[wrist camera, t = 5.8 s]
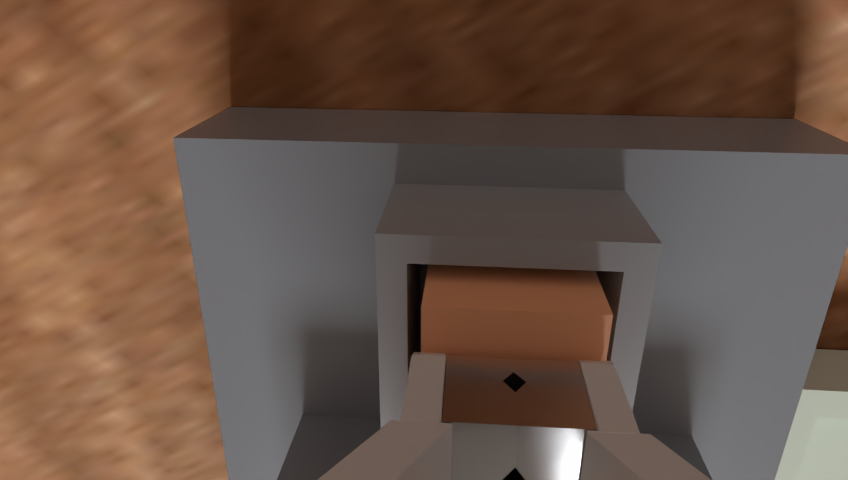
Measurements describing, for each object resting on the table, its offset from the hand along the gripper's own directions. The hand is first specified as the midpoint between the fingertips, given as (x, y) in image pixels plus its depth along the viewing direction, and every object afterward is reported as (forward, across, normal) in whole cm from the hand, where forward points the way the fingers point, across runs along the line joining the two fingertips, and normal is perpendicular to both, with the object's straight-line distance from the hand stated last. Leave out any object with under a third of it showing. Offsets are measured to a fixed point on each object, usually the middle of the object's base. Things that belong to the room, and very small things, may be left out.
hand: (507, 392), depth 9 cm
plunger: (+3, 0, 0) cm, 3 cm away
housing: (+6, 0, -6) cm, 9 cm away
